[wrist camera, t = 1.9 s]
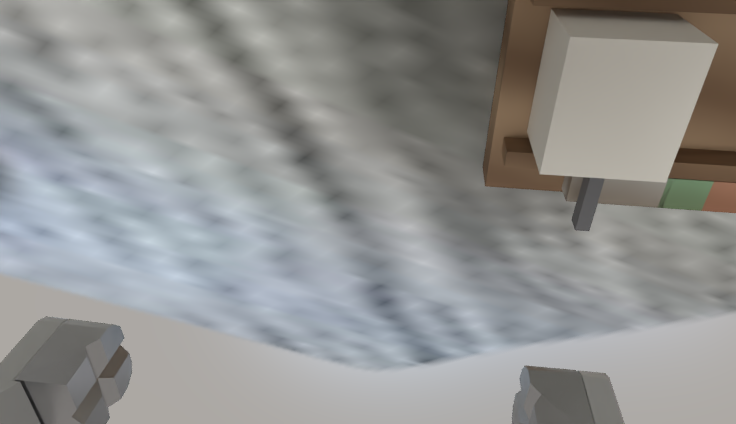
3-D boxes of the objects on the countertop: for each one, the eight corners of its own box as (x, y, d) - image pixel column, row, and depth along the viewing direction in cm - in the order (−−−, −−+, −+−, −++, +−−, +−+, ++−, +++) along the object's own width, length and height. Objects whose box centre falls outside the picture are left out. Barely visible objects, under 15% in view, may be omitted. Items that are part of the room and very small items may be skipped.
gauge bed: (521, -87, 23) (547, -64, 17) (965, -73, 21) (1144, -45, 16) (482, 166, 29) (492, 239, 24) (817, 189, 28) (907, 271, 23)
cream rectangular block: (551, 8, 22) (570, 36, 19) (677, 14, 22) (718, 44, 19) (516, 185, 27) (526, 232, 24) (618, 193, 27) (643, 241, 24)
